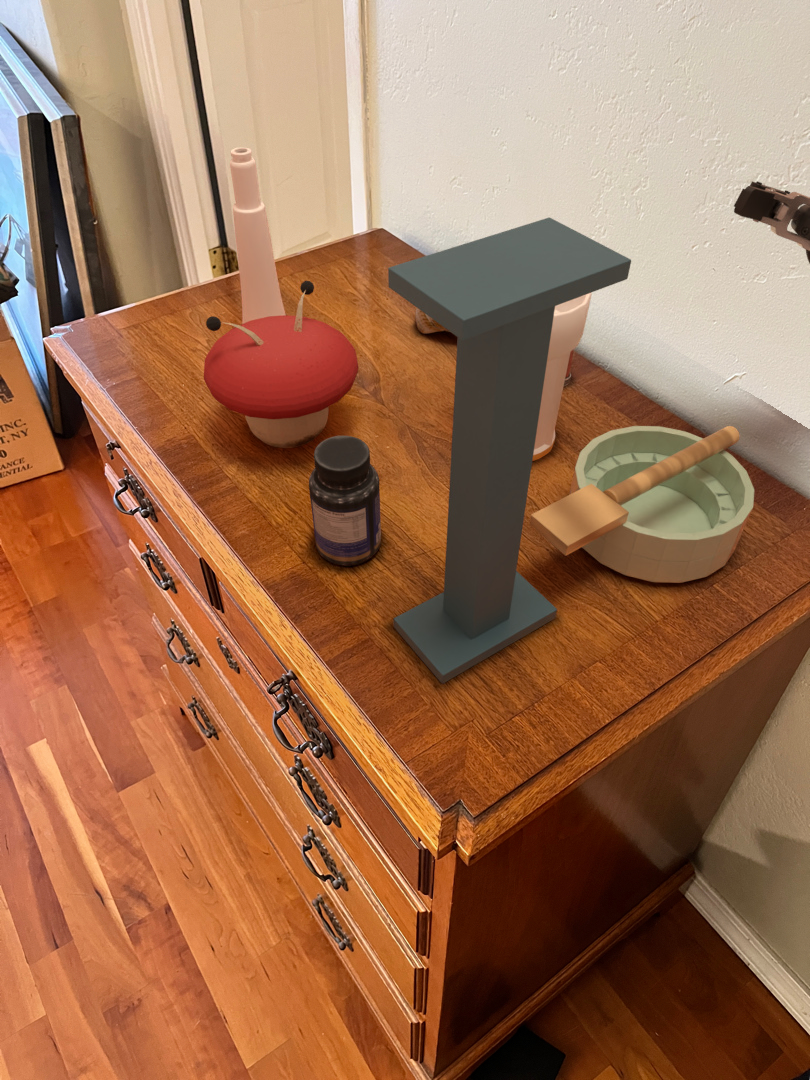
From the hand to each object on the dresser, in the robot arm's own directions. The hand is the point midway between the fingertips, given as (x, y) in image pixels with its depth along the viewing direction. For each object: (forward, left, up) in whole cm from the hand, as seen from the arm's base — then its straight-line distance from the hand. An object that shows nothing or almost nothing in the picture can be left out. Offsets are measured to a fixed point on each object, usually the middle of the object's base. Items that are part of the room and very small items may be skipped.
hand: (787, 221), depth 61 cm
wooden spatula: (-2, +11, -21) cm, 24 cm away
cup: (+16, +11, -27) cm, 33 cm away
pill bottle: (+12, +34, -27) cm, 45 cm away
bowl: (-2, +9, -27) cm, 28 cm away
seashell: (+37, +2, -27) cm, 46 cm away
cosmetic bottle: (+50, +23, -27) cm, 61 cm away
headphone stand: (-2, +30, -27) cm, 40 cm away
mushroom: (+31, +30, -27) cm, 51 cm away
